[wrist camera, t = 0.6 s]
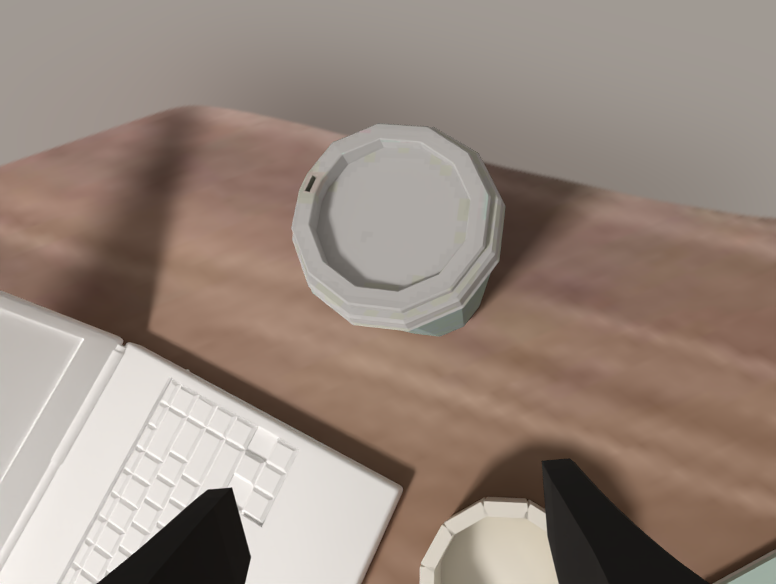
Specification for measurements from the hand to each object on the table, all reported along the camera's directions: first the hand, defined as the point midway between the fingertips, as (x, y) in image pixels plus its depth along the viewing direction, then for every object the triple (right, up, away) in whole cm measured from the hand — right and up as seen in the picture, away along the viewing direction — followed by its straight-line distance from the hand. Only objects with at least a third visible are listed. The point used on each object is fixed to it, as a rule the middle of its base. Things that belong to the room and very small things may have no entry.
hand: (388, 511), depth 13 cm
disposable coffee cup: (+3, +5, +27) cm, 28 cm away
